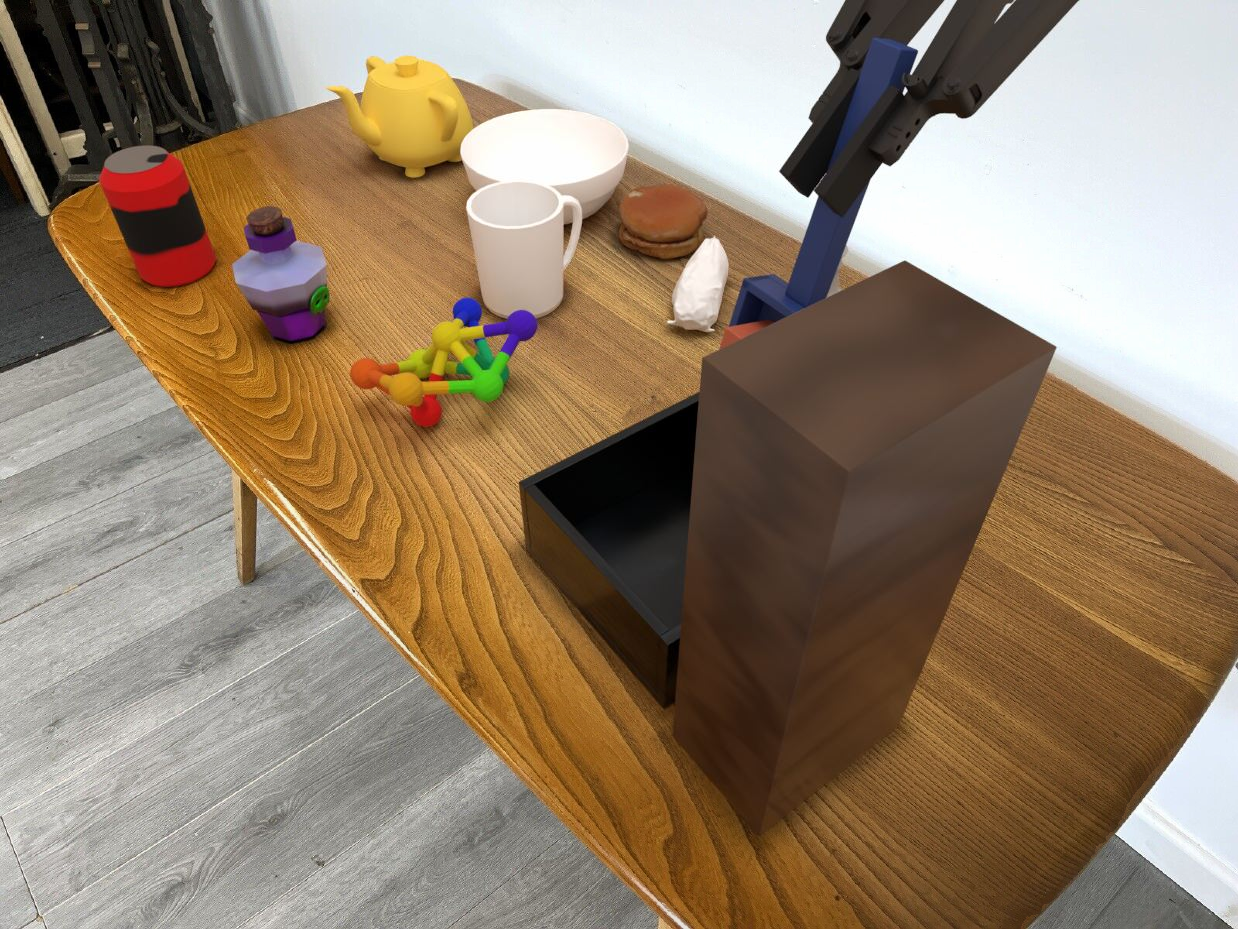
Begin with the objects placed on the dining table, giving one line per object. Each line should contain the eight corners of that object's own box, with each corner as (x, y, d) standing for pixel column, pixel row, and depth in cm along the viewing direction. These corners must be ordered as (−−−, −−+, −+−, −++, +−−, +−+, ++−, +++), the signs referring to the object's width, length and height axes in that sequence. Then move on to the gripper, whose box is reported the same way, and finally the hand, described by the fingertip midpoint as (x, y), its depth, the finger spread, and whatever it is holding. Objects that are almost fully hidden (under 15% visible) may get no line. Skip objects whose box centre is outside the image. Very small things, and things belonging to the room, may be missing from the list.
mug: (495, 333, 88) (483, 237, 80) (466, 284, 93) (453, 191, 86) (601, 305, 91) (599, 211, 84) (567, 260, 97) (563, 168, 89)
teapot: (370, 132, 118) (351, 36, 110) (482, 132, 118) (471, 36, 110) (346, 184, 108) (323, 83, 100) (468, 185, 108) (455, 83, 100)
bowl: (514, 266, 96) (508, 203, 91) (441, 193, 107) (432, 132, 102) (659, 218, 103) (661, 156, 98) (577, 153, 114) (575, 95, 109)
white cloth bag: (672, 291, 95) (662, 328, 86) (690, 228, 91) (681, 260, 83) (718, 304, 95) (713, 342, 86) (738, 241, 91) (734, 274, 83)
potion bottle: (332, 354, 85) (301, 239, 77) (239, 353, 85) (198, 239, 77) (352, 300, 91) (325, 189, 83) (265, 300, 92) (229, 188, 83)
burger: (697, 266, 96) (700, 225, 92) (610, 256, 97) (609, 216, 94) (710, 218, 103) (713, 179, 99) (628, 210, 104) (629, 171, 101)
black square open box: (845, 587, 66) (864, 519, 61) (664, 710, 59) (668, 645, 54) (697, 457, 76) (702, 389, 70) (525, 550, 69) (518, 481, 63)
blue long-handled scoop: (957, 65, 47) (925, 63, 45) (815, 421, 59) (786, 429, 58) (856, 24, 51) (823, 21, 49) (743, 366, 63) (713, 372, 62)
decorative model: (328, 353, 79) (470, 258, 82) (381, 428, 84) (512, 335, 88) (379, 405, 69) (537, 295, 72) (435, 486, 74) (579, 380, 78)
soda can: (207, 286, 93) (166, 176, 85) (131, 290, 93) (82, 179, 84) (224, 246, 99) (186, 139, 90) (151, 250, 98) (107, 142, 90)
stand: (899, 726, 58) (1057, 346, 37) (758, 837, 53) (849, 471, 32) (809, 640, 63) (904, 259, 42) (672, 735, 58) (701, 357, 37)
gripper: (1244, -122, 45) (937, 280, 50) (991, -174, 54) (750, 173, 59) (1238, -248, 39) (891, 222, 44) (955, -284, 48) (690, 112, 53)
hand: (811, 193), depth 51 cm, fingers closed on blue long-handled scoop, 2 cm apart
